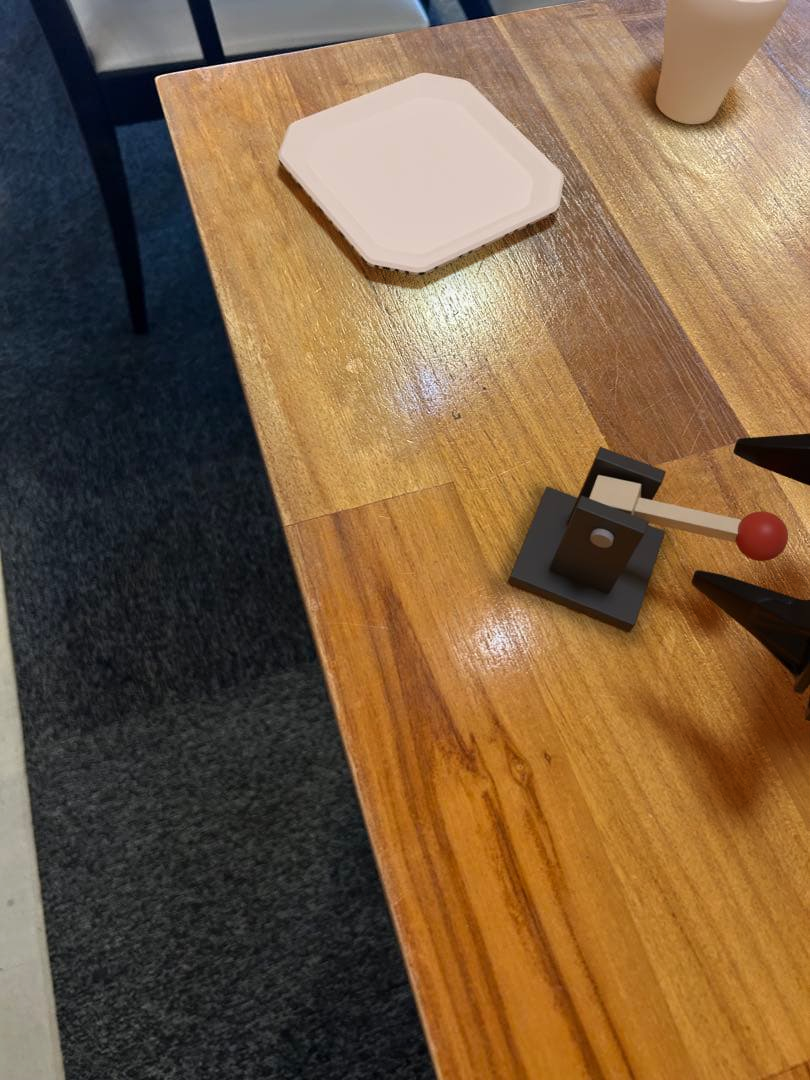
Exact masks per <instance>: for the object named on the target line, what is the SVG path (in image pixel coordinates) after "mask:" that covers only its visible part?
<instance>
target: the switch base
mask: <svg viewBox="0 0 810 1080" xmlns="http://www.w3.org/2000/svg"><path fill="white" fill-rule="evenodd" d="M598 475H601V476H606V477H611V478H615V479H620V480H625V481H629V482H634V483H639V484H641V498H644V499H649V500H653V501H654V498H655V496H656V494H657V493H658V491H659V489H660V487H661V486H662V484H663V483H664V479H665V476H666V470H664V469H662V468H659V467H656V466H653V465H651V464H648V463H645V462H643V461H640V460H637V459H635V458H632V457H630V456H627V455H624V454H621V453H618V452H616V451H613V450H612V449H608V448H605V447H602V446H600V447H599V448H598V450H597V452H596V455H595V457H594V459H593V461H592V464H591V466H590V468H589V471H588V473H587V474H586V477H585V480H584V481H583V484H582V487H581V489H580V490H579V493H578V496H574V495H571V494H569V493H567V492H564V491H561V490H558V489H555V488H553V487H550V486H546V487H545V489H544V492H543V494H542V497H541V499H540V501H539V504H538V505H537V509H536V511H535V514H534V516H533V518H532V520H531V524H530V526H529V529H528V531H527V533H526V536H525V537H524V540H523V543H522V546H521V548H520V550H519V553H518V554H517V558H516V560H515V562H514V565H513V568H512V570H511V573H510V575H509V578H508V581H507V584H509V585H511V586H514V587H517V588H518V589H522V590H524V591H527V592H529V593H531V594H534V595H536V596H539V597H541V598H544V599H546V600H549V601H551V602H554V603H557V604H559V605H561V606H564V607H567V608H569V609H572V610H574V611H576V612H579V613H582V614H584V615H586V616H589V617H591V618H594V619H596V620H599V621H601V622H604V623H607V624H609V625H611V626H613V627H615V628H619V629H621V630H624V631H627V632H628V633H630V632H632V630H633V629H634V627H635V626H636V624H637V620H638V617H639V614H640V611H641V609H642V608H641V607H642V605H643V602H644V599H645V596H646V593H647V590H648V586H649V583H650V580H651V578H652V574H653V571H654V567H655V565H656V561H657V558H658V555H659V552H660V549H661V547H662V543H663V541H664V537H665V534H666V531H665V530H662V529H660V528H657V527H655V526H652V525H650V523H649V521H647V520H644V519H642V518H639V517H636V516H634V515H631V514H629V513H626V512H623V511H621V510H618V509H616V508H613V507H610V506H608V505H605V504H603V503H600V502H597V501H595V500H592V499H589V497H590V495H591V492H592V489H593V487H594V484H595V482H596V479H597V476H598Z"/></svg>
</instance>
